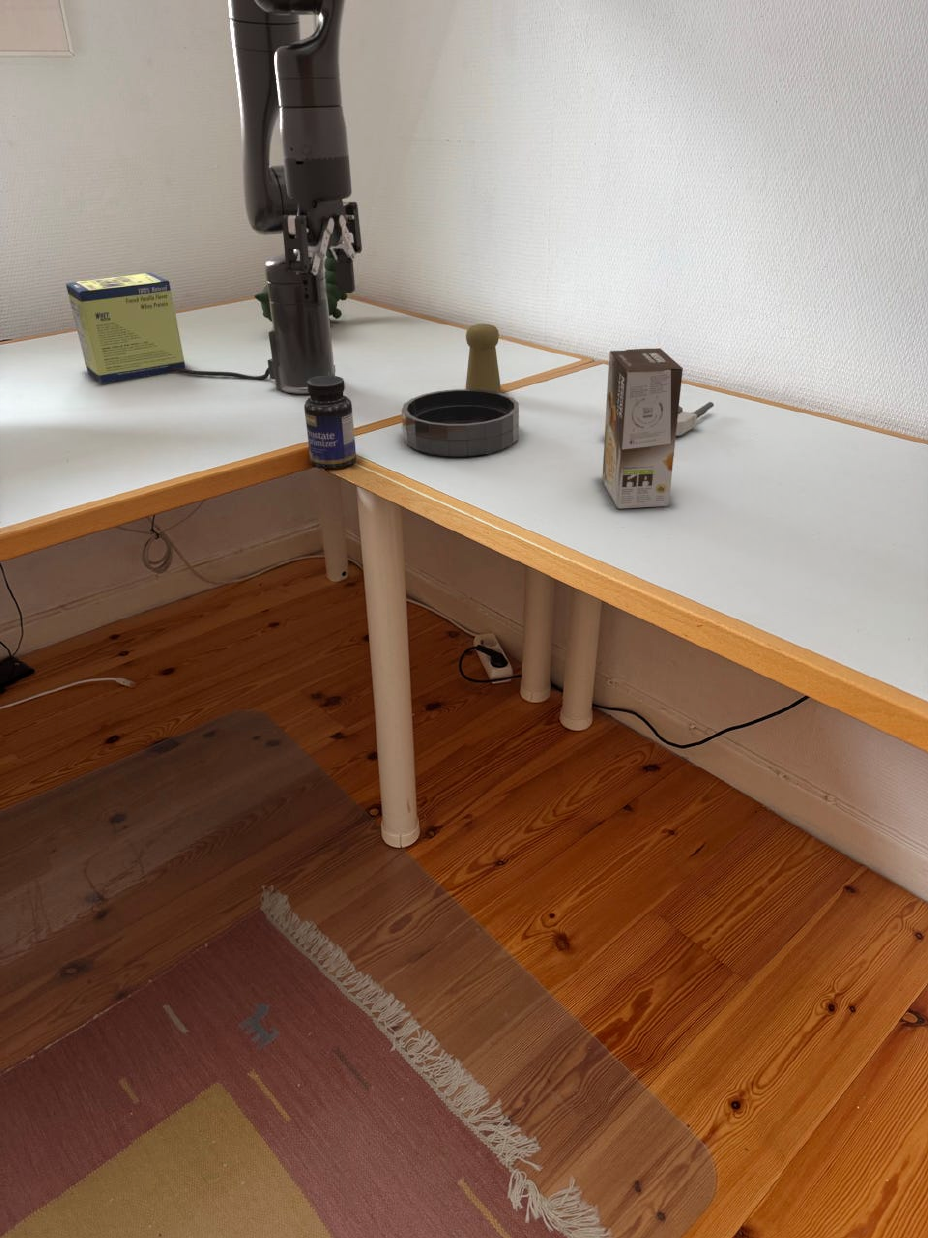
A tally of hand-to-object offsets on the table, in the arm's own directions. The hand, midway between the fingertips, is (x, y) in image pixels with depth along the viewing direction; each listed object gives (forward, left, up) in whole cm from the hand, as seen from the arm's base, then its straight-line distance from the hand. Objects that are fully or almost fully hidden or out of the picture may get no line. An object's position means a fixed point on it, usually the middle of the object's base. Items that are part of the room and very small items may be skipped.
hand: (330, 299), depth 107 cm
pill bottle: (0, -4, -20) cm, 21 cm away
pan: (+13, +10, -20) cm, 26 cm away
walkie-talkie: (+39, +22, -20) cm, 49 cm away
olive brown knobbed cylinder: (+9, +30, -20) cm, 37 cm away
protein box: (-57, +26, -20) cm, 66 cm away
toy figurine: (-43, +63, -20) cm, 79 cm away
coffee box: (+40, -2, -20) cm, 45 cm away
